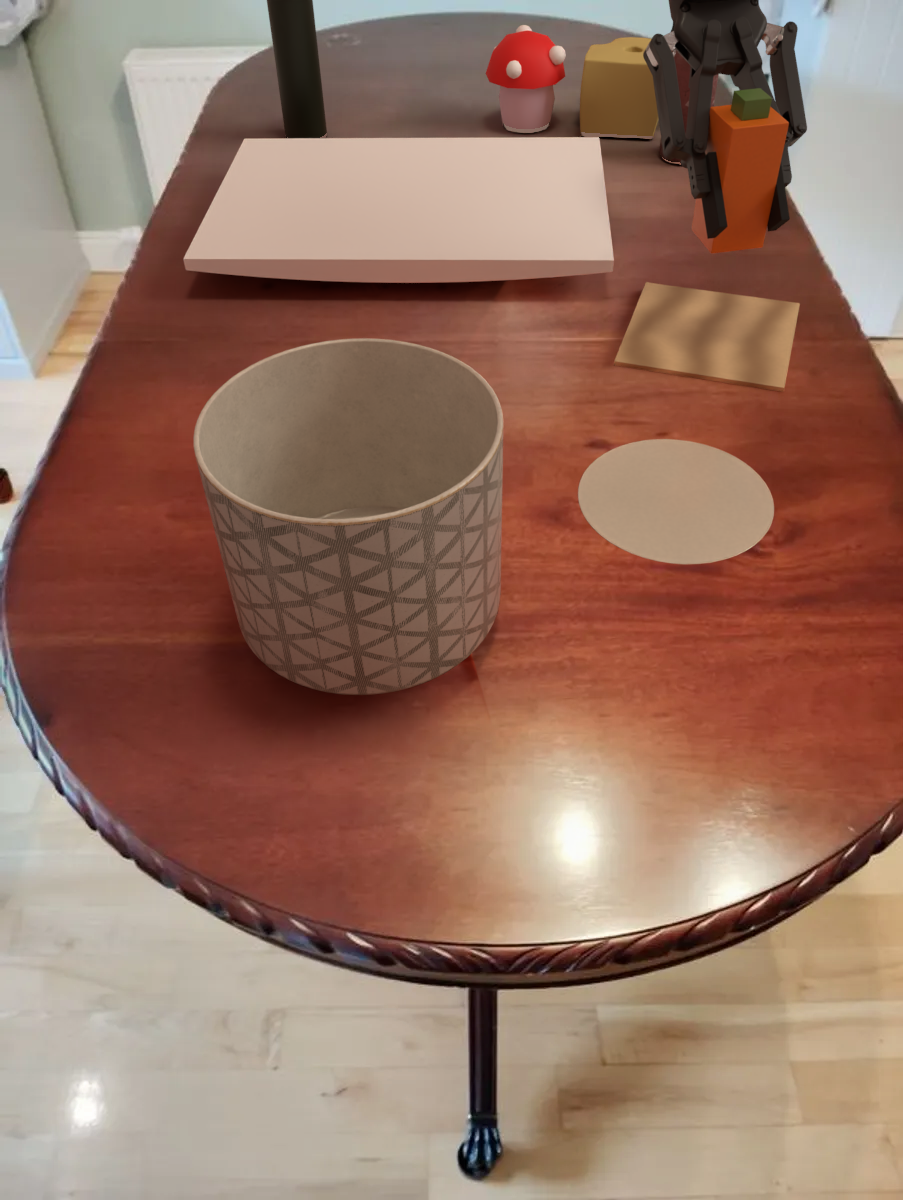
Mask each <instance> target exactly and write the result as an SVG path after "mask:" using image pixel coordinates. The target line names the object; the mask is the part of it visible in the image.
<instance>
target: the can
mask: <svg viewBox="0 0 903 1200" xmlns="http://www.w3.org/2000/svg"><path fill="white" fill-rule="evenodd" d="M675 51H676V54H675V56H674V60H675V64H676V71H677V78H678V85H679V93H680V100H681V107H682V115H683V122H684V129H685V136H686V127H687V116H688V105H689V95H690V88H689V76H690V65H689V63H688V62H687V61H686V60H685V59H684V58H683V57H682V56H681V55H680V53H679V52H678V51H677V50H676V49H675ZM719 75H720V74H717V75H715V76H714V77H713V87H712V98H711V107H714V106H715V100H716V94H717V87H718V81H719ZM658 154H659V156H660V155H661V156H660V158H661V157H663V158H664V159H666V160H668V161H671V162H680V163H681V160H680V159H676V158H674V159H671V160H669V159H667V158H665V156H664V154H663V148H662V140H661V139H660V141H659V149H658Z"/></svg>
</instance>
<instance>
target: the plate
mask: <svg viewBox="0 0 903 1200" xmlns="http://www.w3.org/2000/svg"><path fill="white" fill-rule="evenodd" d="M577 500H578V506H579V508H580V511H581V513H582V516H583V517H584V519H585V520H586V522H587V523H588V525H589V526H590V527H591V528H592V529H593V530H594V531H595V532H596V533H597V534H598V535H599V536H601V537H602V538H603V539H604V540H606V541H607V542H608V543H610V544H612V545H613V546H614V547H617V548H618V549H621V550H623V551H625V552H627V553H629V554H630V555H631V554H632V555H634V556H637V557H640V558H643V559H646V560H651V561H655V562H658V563H659V562H660V563H666V564H672V565H673V564H674V565H701V564H711V563H716V562H720V561H724V560H728V559H731V558H734V557H737V556H738V555H741V554H743V553H745V552H746V551H749V550H750V549H751V548H753V547H754V546H756V545H757V544H758V543H759V542H760V541H761V540H763V538H764V537H765V535H767V534H768V532H769V530H770V528H771V526H772V523H773V520H774V516H775V504H774V498H773V495H772V493H771V490H770V488H769V487H768V485H767V483H766V481H764V479H763V478H762V476H761V475H760V474H759V473H758V472H756V470H754V468H753V467H751V466H750V465H748V464H747V463H746V462H745V461H743V460H741V459H740V458H738V457H737V456H735V455H733V454H731V453H729V452H727V451H724V450H722V449H719V448H717V447H714V446H712V445H708V444H704V443H701V442H697V441H692V440H684V439H675V438H674V439H673V438H653V439H643V440H637V441H633V442H629V443H625V444H622V445H620V446H617V447H614V448H612V449H610V450H608V451H606V452H604V453H602V454H601V455H600V456H598V457H597V458H595V459H594V460H593V461H592V462H591V463H590V464H589V465H588V466H587V468H586V469H585V470H584V472H583V473H582V476H581V477H580V480H579V483H578V487H577Z"/></svg>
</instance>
